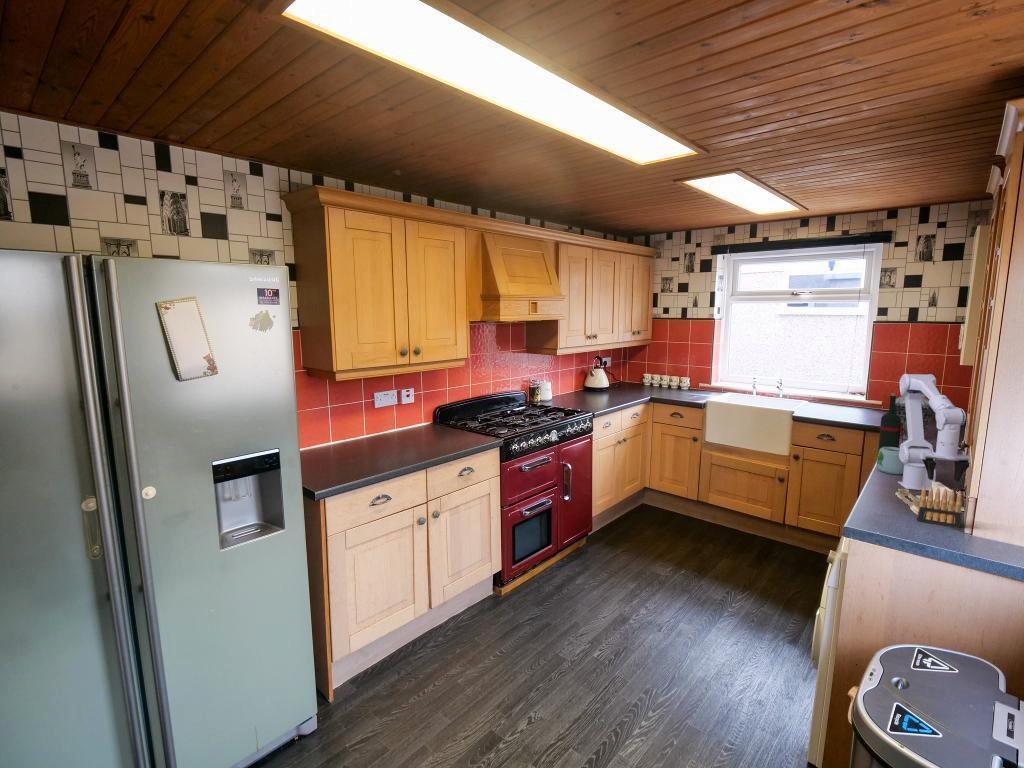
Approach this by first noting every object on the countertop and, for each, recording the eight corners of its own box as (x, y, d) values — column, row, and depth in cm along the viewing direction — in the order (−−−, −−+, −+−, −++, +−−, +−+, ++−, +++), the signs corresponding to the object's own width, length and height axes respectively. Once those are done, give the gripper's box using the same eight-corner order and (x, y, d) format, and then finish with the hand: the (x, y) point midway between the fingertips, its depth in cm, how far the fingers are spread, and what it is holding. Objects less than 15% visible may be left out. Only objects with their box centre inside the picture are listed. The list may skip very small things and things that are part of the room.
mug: (866, 464, 229) (868, 443, 227) (894, 465, 227) (896, 443, 225) (884, 475, 214) (886, 452, 213) (913, 476, 212) (916, 453, 211)
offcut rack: (912, 496, 190) (912, 488, 189) (939, 517, 170) (940, 508, 170) (893, 494, 191) (893, 487, 191) (917, 515, 172) (918, 506, 172)
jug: (897, 442, 267) (903, 385, 263) (880, 433, 286) (884, 380, 282) (943, 443, 263) (949, 385, 259) (922, 435, 281) (928, 380, 277)
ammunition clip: (959, 526, 163) (963, 490, 161) (960, 528, 161) (964, 491, 160) (916, 519, 169) (920, 484, 167) (917, 521, 167) (921, 486, 165)
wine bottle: (903, 459, 236) (909, 395, 231) (876, 455, 242) (881, 393, 238) (905, 456, 241) (911, 393, 237) (879, 452, 248) (884, 391, 244)
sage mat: (948, 499, 186) (948, 497, 186) (968, 512, 174) (968, 511, 173) (915, 496, 189) (916, 495, 189) (932, 509, 177) (933, 508, 176)
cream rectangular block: (937, 498, 186) (938, 482, 185) (951, 508, 176) (953, 491, 176) (930, 497, 186) (932, 481, 186) (944, 507, 177) (946, 490, 176)
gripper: (928, 443, 176) (924, 481, 178) (979, 446, 172) (975, 485, 174) (918, 439, 183) (915, 475, 185) (968, 441, 179) (963, 479, 181)
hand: (943, 480), depth 180 cm, fingers open, 7 cm apart
